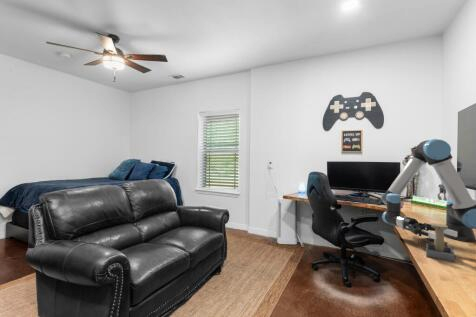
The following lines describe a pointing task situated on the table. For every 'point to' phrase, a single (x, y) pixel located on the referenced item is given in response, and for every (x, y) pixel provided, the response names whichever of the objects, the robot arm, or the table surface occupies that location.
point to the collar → (429, 241)
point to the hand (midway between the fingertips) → (446, 235)
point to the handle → (439, 236)
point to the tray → (440, 253)
